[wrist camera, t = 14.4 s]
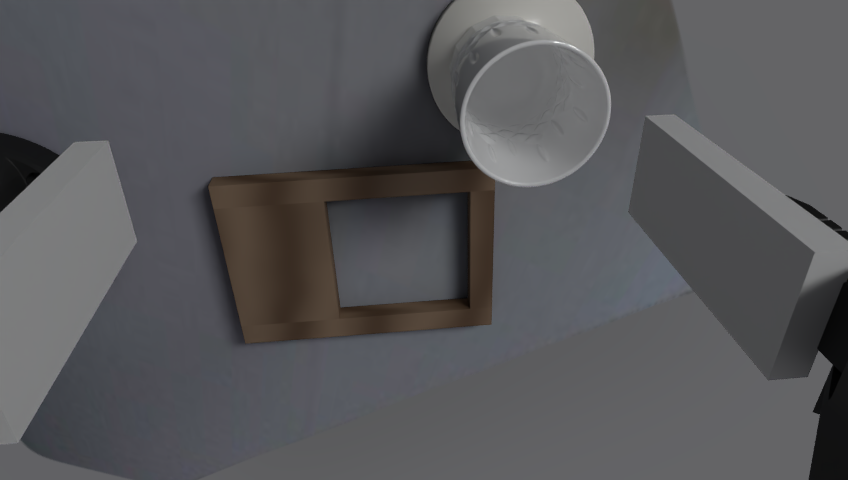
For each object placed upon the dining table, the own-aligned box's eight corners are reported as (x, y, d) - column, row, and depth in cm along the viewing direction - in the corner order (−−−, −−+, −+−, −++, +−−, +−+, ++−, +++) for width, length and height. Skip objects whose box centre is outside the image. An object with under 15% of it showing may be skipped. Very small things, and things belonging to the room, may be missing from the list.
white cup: (466, 143, 43) (491, 209, 34) (421, 37, 39) (435, 82, 30) (574, 95, 42) (627, 152, 33) (537, -18, 38) (587, 12, 29)
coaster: (429, 143, 44) (430, 149, 43) (423, -23, 38) (424, -21, 37) (581, 134, 44) (585, 139, 43) (598, -32, 39) (603, -30, 38)
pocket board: (248, 331, 51) (245, 343, 50) (212, 177, 44) (207, 186, 42) (488, 313, 52) (491, 324, 51) (491, 159, 45) (495, 167, 43)
